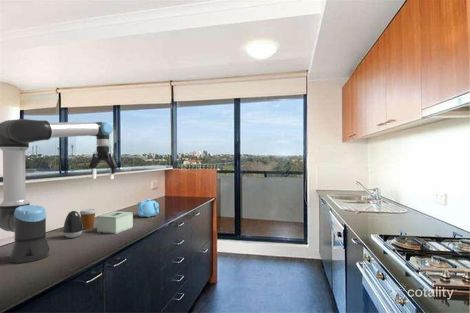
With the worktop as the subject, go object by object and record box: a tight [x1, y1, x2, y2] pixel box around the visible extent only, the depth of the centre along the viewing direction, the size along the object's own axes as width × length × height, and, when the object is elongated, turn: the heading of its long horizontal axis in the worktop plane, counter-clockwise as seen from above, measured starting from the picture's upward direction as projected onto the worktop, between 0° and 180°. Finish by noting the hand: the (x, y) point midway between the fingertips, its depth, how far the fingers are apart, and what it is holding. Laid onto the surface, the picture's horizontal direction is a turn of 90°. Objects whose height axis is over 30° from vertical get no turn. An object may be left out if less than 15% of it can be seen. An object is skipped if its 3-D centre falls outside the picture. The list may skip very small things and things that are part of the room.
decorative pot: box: [136, 198, 160, 218], centre depth 218 cm, size 16×16×14 cm
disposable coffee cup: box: [79, 208, 97, 231], centre depth 180 cm, size 10×10×12 cm
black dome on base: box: [62, 210, 84, 239], centre depth 161 cm, size 10×10×15 cm
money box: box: [96, 210, 134, 235], centre depth 177 cm, size 16×14×10 cm
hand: (102, 178), depth 177 cm, fingers open, 13 cm apart
